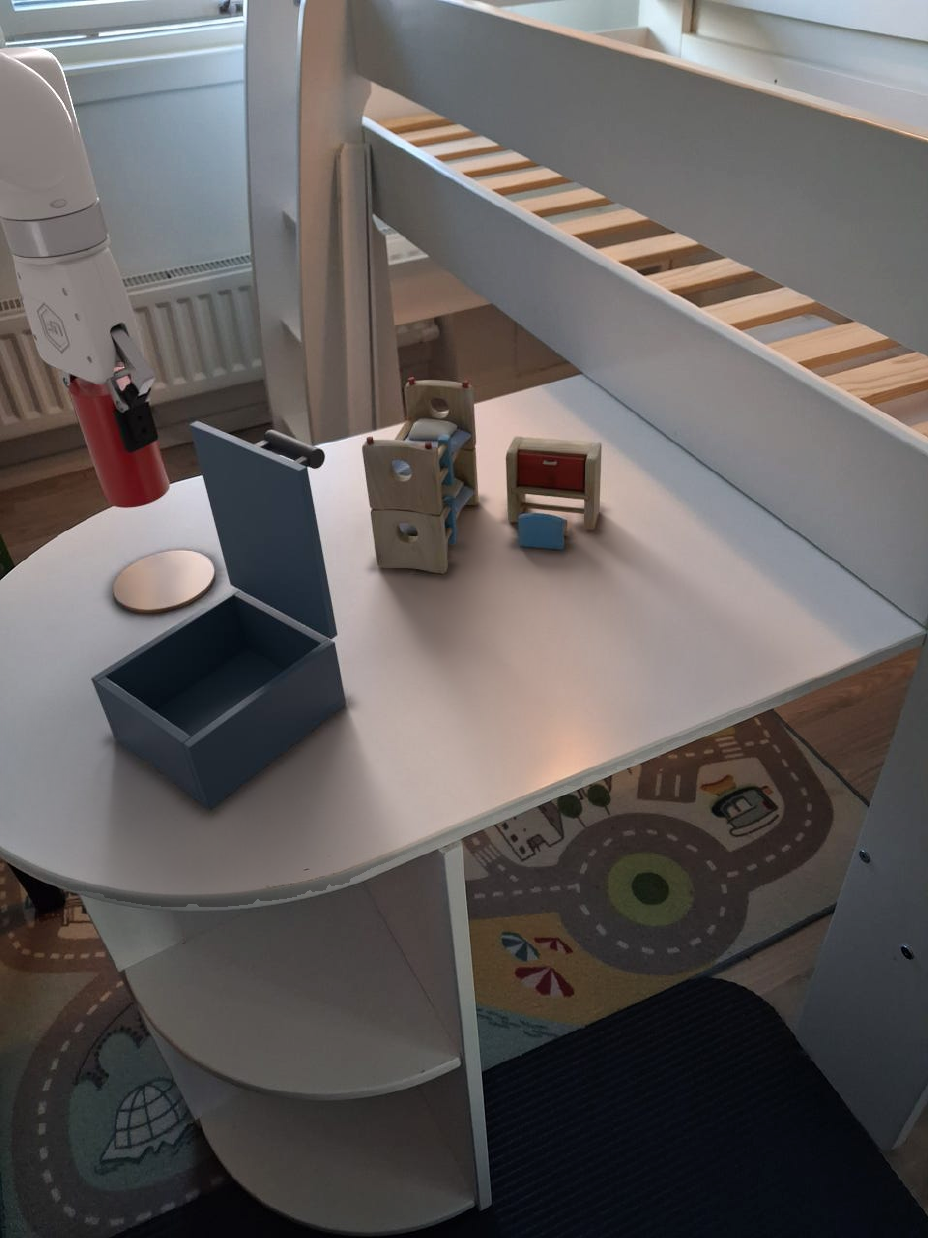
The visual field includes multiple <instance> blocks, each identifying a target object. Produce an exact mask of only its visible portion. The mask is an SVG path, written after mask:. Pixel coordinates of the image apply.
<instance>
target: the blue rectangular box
mask: <svg viewBox="0 0 928 1238" xmlns="http://www.w3.org/2000/svg"><path fill="white" fill-rule="evenodd" d="M90 680H91V682H92V684H93V687H94V689H95V690H94V691H95V692H96V695H97V697H98V700H99V702H100V705H101V707H102V709H103V712H104V715H105V717H106V720H107V722H108V726H109V727H110V731H111V732H112V736H113V738H114V740H115V741H117V742H118V743H120V744H121V745H122V746H124V747H125V748H126V749H127V750H129V751H130V752H132V753H133V754H134V755H136V756H137V757H138V758H140V759H141V760H142V761H143V762H145V763H146V764H147V765H149V766H150V767H152V768H153V769H154V770H156V772H158V773H160V774H161V775H162V776H164V778H166V779H168V780H169V781H170V782H171V783H172V784H174V785H176V787H178V788H179V789H181V790H182V791H184V792H185V793H186V794H187V795H189V797H192V798H193V799H194V800H195V801H196V802H198V803H200V804H201V805H202V806H204V808H206V809H208V810H209V811H211V810H212V809H213V808H214V807H216V806H217V805H218V804H221V802H222V801H224V800H225V799H226V798H227V797H229V796H230V795H231V794H232V793H234V792H235V791H236V790H238V789H239V788H240V787H242V786H243V785H244V784H245V783H247V782H248V781H250V780H251V779H252V778H253V777H255V776H256V775H257V774H258V773H259V772H261V771H262V770H264V769H265V768H266V767H267V766H269V765H270V764H271V763H273V762H274V761H275V760H276V759H278V758H279V757H280V756H282V755H283V754H284V753H285V752H287V751H288V750H290V748H292V747H293V746H295V745H296V744H297V743H298V742H300V741H301V739H304V738H305V737H306V736H307V735H308V734H310V733H311V732H312V731H313V730H315V729H317V728H318V726H320V725H321V724H322V723H324V722H325V721H326V720H328V719H329V718H330V717H332V716H333V715H334V714H335V713H337V712H338V711H340V709H342V708H343V707H344V706H346V705H347V699H346V696H345V695H346V694H345V689H344V684H343V678H342V673H341V668H340V662H339V657H338V651H337V646H336V642H335V641H333V640H332V639H331V640H330V639H328V638H327V637H325V636H323V635H321V634H319V633H317V632H316V631H314V630H312V629H310V628H308V627H306V626H305V625H303V624H301V623H299V622H297V621H295V620H294V619H292V618H290V617H288V616H286V615H285V614H283V613H281V612H279V611H277V610H275V609H274V608H272V607H270V606H268V605H266V604H264V603H263V602H261V601H259V600H257V599H255V598H253V597H252V596H250V595H248V594H246V593H244V592H242V591H241V590H239V589H237V588H235V587H233V588H232V589H231V590H229V591H227V592H226V593H224V594H223V595H221V596H220V597H217V598H216V599H215V600H213V601H212V602H210V603H208V604H206V605H204V607H202V608H200V609H198V610H197V611H195V612H194V613H192V614H191V615H190V616H188V617H186V618H184V619H183V620H181V621H180V622H178V623H177V624H175V625H173V626H172V627H170V628H169V629H167V630H165V631H164V632H162V633H161V634H159V635H157V636H156V637H154V638H152V639H151V640H150V641H148V642H146V643H144V644H143V645H141V646H139V647H138V648H137V649H135V650H133V651H131V652H130V653H129V654H127V655H125V656H124V657H122V658H121V659H119V660H118V661H115V662H114V663H113V664H111V665H110V666H108V667H107V668H105V669H103V670H102V671H100V672H99V673H97V674H95V675H94V676H92V677H90Z"/></svg>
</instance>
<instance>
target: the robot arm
mask: <svg viewBox="0 0 928 1238" xmlns="http://www.w3.org/2000/svg"><path fill="white" fill-rule="evenodd" d="M69 90H70V89H69V87H68V83H67V80H66V77H65V73H64V71H63V68H62V66H61V64H60V63H59V61H58V60H57V57H55V56H54V55H53V54H52V52H49V51H47V50H46V49H43V48H38V47H31V46H28V47H27V46H17V47H4V48H0V224H1V226H2V230H3V233H4V235H5V239H6V241H7V244H8V247H9V251H10V253H11V257H12V260H13V266H14V270H15V276H16V280H17V285H18V289H19V293H20V296H21V301H22V304H23V307H24V311H25V315H26V318H27V321H28V325H29V328H30V332H31V334H32V338H33V341H34V344H35V348H36V350H37V353H38V355H39V357H40V358H41V359H42V361H44V362H45V363H46V364H47V365H48V366H51V367H54V368H56V369H59V371H60V376H61V380H62V384H63V385H64V387H65V388H66V389H67V390H68V391H67V392H68V394H69V398H70V401H71V404H72V406H73V409H74V412H75V416H76V419H77V421H78V425H79V427H80V429H81V426H80V423H79V420H78V417H77V414H76V411H75V408H74V405H73V402H72V399H71V396H70V393H69V389H68V388H69V385H70V383H71V382H72V381H73V380H74V379H76V378H77V377H79V378H82V379H84V380H86V381H89V382H92V383H94V384H103V383H104V384H105V386H106V388H107V389H108V391H109V393H110V395H111V397H112V399H113V401H114V403H115V405H116V407H117V409H116V410H114V411H113V414H114V417H115V420H116V423H117V427H118V430H119V433H120V436H121V439H122V443H123V446H124V449H125V450H126V451H127V452H130V453H133V452H135V451H137V450H139V449H141V448H143V447H145V446H147V445H149V444H151V443H153V442H155V441H157V440H158V439H159V434H158V430H157V427H156V424H155V420H154V416H153V413H152V410H151V406H150V401H151V395H150V393H151V391H152V386H153V384H154V381H155V379H156V373H155V371H154V370H153V368H152V367H151V366H150V364H149V363H148V361H147V360H146V356H145V350H144V345H143V340H142V337H141V333H140V329H139V325H138V322H137V319H136V316H135V313H134V310H133V307H132V304H131V300H130V297H129V295H128V292H127V290H126V286H125V284H124V281H123V279H122V276H121V274H120V271H119V268H118V266H117V263H116V261H115V259H114V256H113V254H112V252H111V249H110V248H109V246H110V245H111V238H110V235H109V231H108V227H107V224H106V220H105V217H104V214H103V210H102V206H101V202H100V198H99V195H98V192H97V188H96V184H95V181H94V177H93V173H92V170H91V167H90V163H89V159H88V156H87V152H86V148H85V143H84V142H83V137H82V134H81V130H80V127H79V123H78V119H77V116H76V112H75V108H74V105H73V102H72V98H71V95H70V91H69ZM119 363H122V364H123V366H124V368H123V369H120V370H118V371H116V372H114V369H115V367H116V364H119ZM125 376H128V378H129V380H130V383H129V384H127V385H126V387H125V389H124V391H123V393H122V391H121V389H120V387H119V385H118V383H117V381H116V380H118V379H120V378H122V377H125Z"/></svg>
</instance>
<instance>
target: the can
mask: <svg viewBox="0 0 928 1238" xmlns="http://www.w3.org/2000/svg"><path fill="white" fill-rule="evenodd" d="M123 368H125V366H124V367H123V366H115V369H114V372H116V371H118V370H120V369H123ZM116 381H117V383H118V385H119V387H120V389H121V391H122V393H123V391H124V389H125V387H126V385H127V384H129V383H130V380H129V378H128V376H125V377H122V378H120V379H118V380H116ZM67 390H68V391H69V392H68V394H69V393H70V395H69V397H70V396H71V398H70V400H71V399H72V401H71V403H72V402H73V404H72V406H73V405H74V407H73V409H74V408H75V410H74V412H75V411H76V413H75V415H76V414H77V416H76V418H77V417H78V419H77V421H78V420H79V422H78V424H79V423H80V425H79V427H80V426H81V428H80V430H81V432H82V434H83V437H84V440H85V443H86V447H87V450H88V453H89V456H90V459H91V462H92V465H93V469H94V470H95V473H96V476H97V479H98V482H99V485H100V489H101V492H102V494H103V497H104V500H105V501H106V503H107V504H108V505H111V506H113V507H115V508H122V509H124V508H125V509H127V508H128V509H130V508H139V507H142V506H146V505H149V504H152V503H155V502H156V501H158V500H159V499H161V498H163V497H164V496H165V495H166V494H167V493H168V491H169V490H170V486H171V483H170V480H169V476H168V471H167V469H166V466H165V462H164V458H163V455H162V450H161V448H160V444H159V441H158V439H157V441H155V442H153V443H151V444H149V445H147V446H145V447H143V448H141V449H139V450H137V451H135V452H133V453H130V452H127V451H126V450H125V449H124V446H123V443H122V439H121V436H120V433H119V430H118V427H117V423H116V420H115V417H114V414H113V411H114V410H116V409H117V407H116V405H115V403H114V401H113V399H112V397H111V395H110V393H109V391H108V389H107V388H106V386H105V384H104V383H103V384H94V383H92V382H89V381H86V380H84V379H82V378H79V377H77V378H76V379H74V380H73V381H72V382H71V383H70V385H69V388H68V389H67Z"/></svg>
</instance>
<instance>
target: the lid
mask: <svg viewBox="0 0 928 1238" xmlns="http://www.w3.org/2000/svg"><path fill="white" fill-rule="evenodd" d="M189 430H190V433H191V437H192V440H193V444H194V448H195V452H196V456H197V460H198V464H199V468H200V472H201V475H202V479H203V484H204V487H205V492H206V495H207V499H208V502H209V507H210V510H211V515H212V519H213V522H214V526H215V531H216V533H217V538H218V541H219V546H220V550H221V553H222V557H223V562H224V566H225V569H226V573H227V577H228V580H229V583H230V586H232V587H233V588H236V589H238V590H240V591H242V592H244V593H246V594H248V595H250V596H251V597H253V598H255V599H257V600H259V601H261V602H262V603H264V604H266V605H268V606H270V607H271V608H273V609H275V610H277V611H279V612H281V613H282V614H284V615H286V616H288V617H290V618H292V619H293V620H295V621H297V622H299V623H301V624H303V625H304V626H306V627H308V628H310V629H312V630H314V631H315V632H317V633H319V634H321V635H323V636H324V637H326V638H328V639H330V640H331V641H332V640H333V639H334V638H336V637H337V636H338V629H337V624H336V618H335V613H334V607H333V601H332V595H331V591H330V586H329V585H330V584H329V579H328V573H327V568H326V564H325V558H324V553H323V552H324V551H323V546H322V541H321V536H320V535H321V534H320V530H319V525H318V519H317V513H316V508H315V502H314V497H313V492H312V485H311V481H310V475H309V469H308V468H311V469H313V470H317V469H320V468H321V467H322V466H323V464H324V463H325V459H326V454H325V451H324V450H323V449H322V448H319V447H317V446H316V445H315V446H314V445H312V444H310V443H307V442H305V441H302V440H300V439H297V438H295V437H292V436H289V435H288V434H284V433H283V432H280V431H277V430H275V429H269V430H267V431H266V432H265V433H264V434H263V437H262V440H260V441H259V442H257V443H255V444H253V443H252V442H251V443H250V442H248V441H246V440H244V439H241V438H239V437H236V436H235V435H232V434H229V433H227V432H224V431H222V430H219V429H217V428H215V427H213V426H210V425H208V424H205V423H203V422H200V421H198V420H196V421H194V422H192V423H190V424H189Z"/></svg>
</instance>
